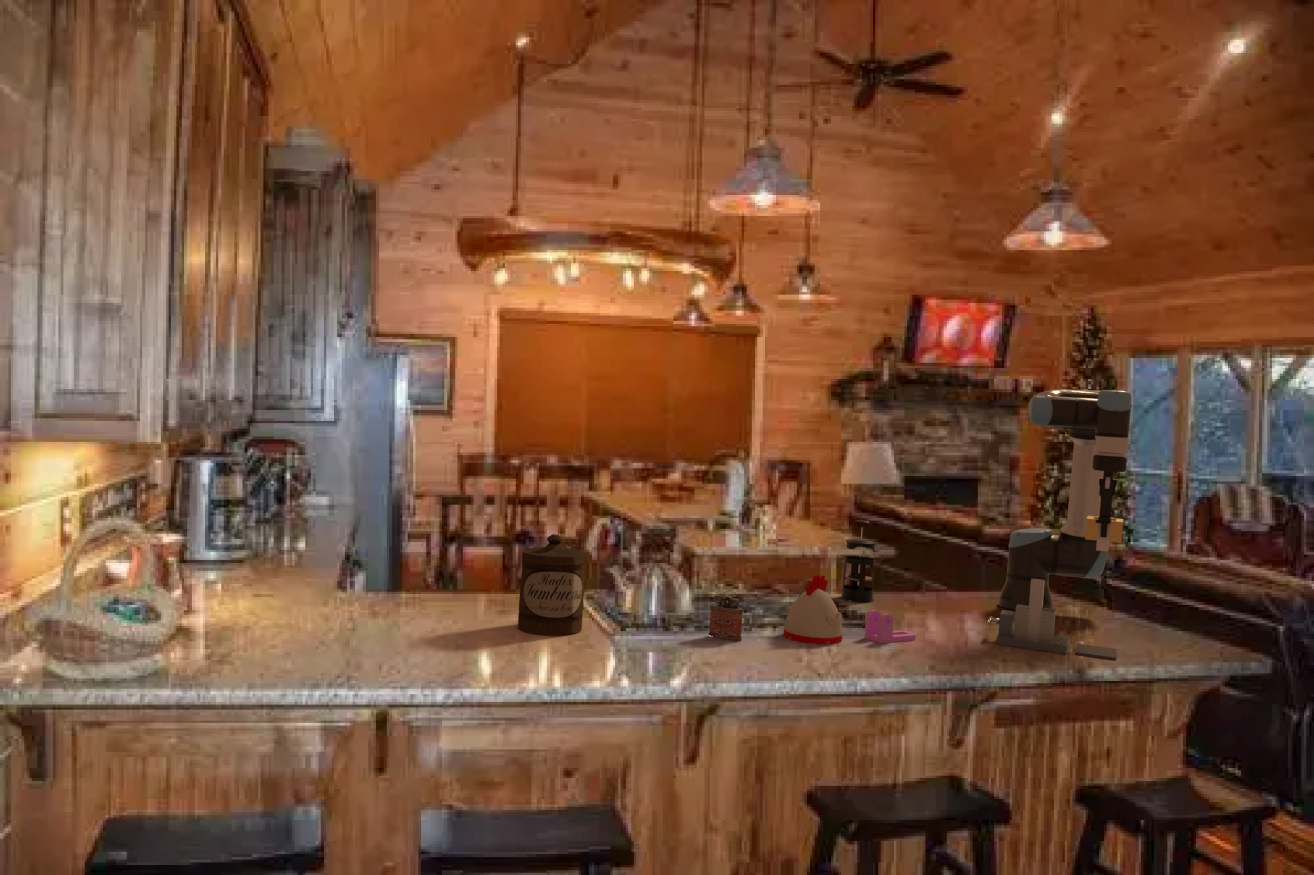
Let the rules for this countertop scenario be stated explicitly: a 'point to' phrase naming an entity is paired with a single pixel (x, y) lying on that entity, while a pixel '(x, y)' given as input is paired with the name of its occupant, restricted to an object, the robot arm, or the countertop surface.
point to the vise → (1030, 624)
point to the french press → (858, 563)
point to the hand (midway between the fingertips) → (1102, 548)
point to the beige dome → (814, 616)
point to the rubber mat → (1096, 651)
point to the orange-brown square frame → (1114, 529)
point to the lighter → (726, 619)
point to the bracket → (884, 629)
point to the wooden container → (551, 589)
